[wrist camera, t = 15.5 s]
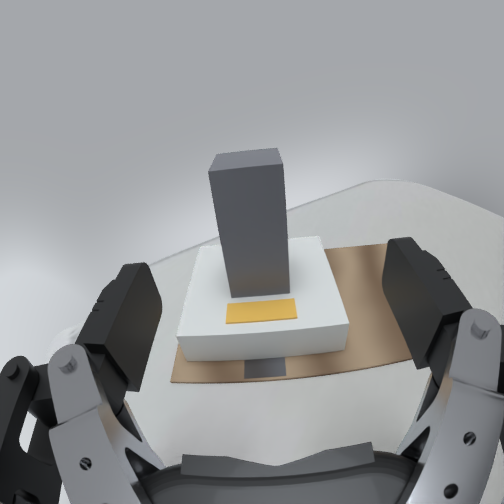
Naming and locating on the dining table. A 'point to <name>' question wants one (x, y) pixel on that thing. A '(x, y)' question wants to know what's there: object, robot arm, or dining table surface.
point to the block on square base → (258, 274)
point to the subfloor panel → (350, 359)
